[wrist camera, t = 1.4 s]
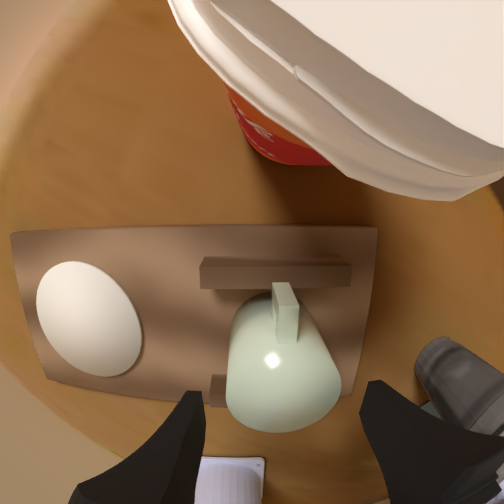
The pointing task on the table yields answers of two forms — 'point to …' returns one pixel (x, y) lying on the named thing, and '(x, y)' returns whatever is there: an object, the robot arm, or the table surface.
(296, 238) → the board
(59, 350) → the coaster
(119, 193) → the table surface
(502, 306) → the table surface
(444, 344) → the beverage cup
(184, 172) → the table surface
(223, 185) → the table surface
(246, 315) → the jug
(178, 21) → the coffee cup
